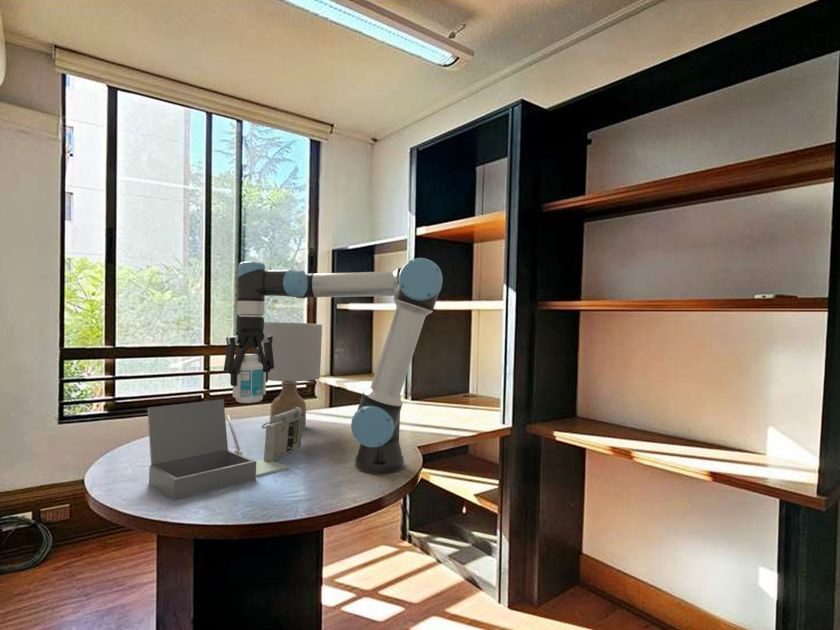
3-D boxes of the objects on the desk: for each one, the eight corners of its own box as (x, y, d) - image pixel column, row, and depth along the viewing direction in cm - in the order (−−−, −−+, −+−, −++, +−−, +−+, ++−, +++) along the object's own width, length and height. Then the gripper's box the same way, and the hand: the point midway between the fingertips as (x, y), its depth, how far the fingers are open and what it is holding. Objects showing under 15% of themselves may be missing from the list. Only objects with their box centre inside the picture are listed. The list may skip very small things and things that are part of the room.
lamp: (279, 418, 207) (283, 322, 207) (328, 425, 200) (332, 324, 200) (242, 430, 184) (247, 322, 185) (296, 438, 177) (301, 325, 177)
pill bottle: (259, 398, 143) (260, 353, 143) (265, 402, 136) (266, 354, 136) (233, 400, 139) (234, 353, 139) (237, 404, 133) (238, 355, 133)
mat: (287, 468, 143) (287, 466, 143) (254, 477, 134) (254, 475, 134) (267, 460, 150) (267, 458, 150) (234, 468, 141) (234, 466, 141)
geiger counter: (278, 416, 146) (313, 405, 171) (260, 414, 148) (296, 403, 172) (275, 462, 146) (309, 444, 170) (256, 460, 147) (293, 442, 172)
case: (259, 478, 134) (262, 408, 134) (173, 500, 116) (177, 419, 116) (224, 462, 146) (227, 398, 146) (142, 480, 128) (145, 407, 128)
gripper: (273, 316, 148) (271, 390, 148) (210, 315, 132) (208, 398, 132) (288, 316, 143) (286, 392, 143) (224, 316, 127) (223, 401, 127)
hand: (249, 395), depth 138 cm, fingers closed on pill bottle, 7 cm apart
